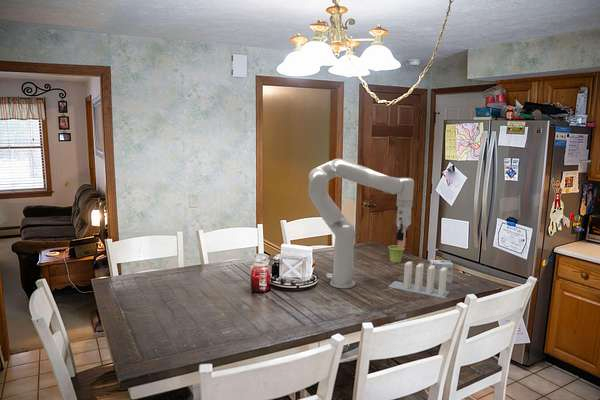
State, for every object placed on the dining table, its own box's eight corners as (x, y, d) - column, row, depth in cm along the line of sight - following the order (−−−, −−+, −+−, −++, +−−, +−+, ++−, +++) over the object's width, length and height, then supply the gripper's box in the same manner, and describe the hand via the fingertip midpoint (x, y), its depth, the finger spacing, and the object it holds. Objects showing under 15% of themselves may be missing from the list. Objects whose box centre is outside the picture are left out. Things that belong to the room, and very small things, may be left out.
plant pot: (406, 261, 266) (406, 246, 265) (400, 264, 258) (401, 250, 257) (390, 258, 271) (391, 244, 270) (385, 262, 263) (385, 247, 262)
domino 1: (397, 247, 221) (399, 223, 220) (401, 245, 227) (402, 221, 225) (401, 248, 220) (403, 224, 219) (405, 245, 226) (406, 222, 224)
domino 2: (403, 288, 217) (404, 264, 215) (407, 284, 222) (408, 261, 220) (407, 289, 216) (408, 264, 214) (411, 285, 221) (412, 261, 219)
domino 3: (414, 290, 214) (416, 266, 212) (418, 286, 219) (419, 263, 217) (418, 291, 213) (420, 266, 211) (422, 287, 218) (423, 263, 216)
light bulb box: (449, 280, 233) (450, 260, 232) (452, 284, 227) (453, 264, 225) (428, 279, 234) (429, 259, 233) (430, 283, 228) (431, 262, 226)
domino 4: (426, 292, 211) (427, 268, 209) (429, 289, 216) (431, 265, 214) (430, 293, 210) (432, 268, 208) (433, 289, 215) (435, 265, 213)
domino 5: (437, 295, 208) (439, 270, 207) (441, 291, 214) (442, 267, 212) (442, 296, 207) (444, 271, 206) (445, 292, 213) (447, 267, 211)
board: (387, 288, 219) (387, 286, 219) (394, 282, 227) (394, 281, 227) (444, 300, 205) (444, 298, 205) (449, 293, 214) (449, 291, 214)
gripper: (407, 206, 211) (404, 243, 214) (416, 201, 226) (413, 236, 229) (391, 204, 215) (389, 241, 217) (402, 200, 229) (399, 234, 232)
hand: (401, 238), depth 223 cm, fingers closed on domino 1, 5 cm apart
